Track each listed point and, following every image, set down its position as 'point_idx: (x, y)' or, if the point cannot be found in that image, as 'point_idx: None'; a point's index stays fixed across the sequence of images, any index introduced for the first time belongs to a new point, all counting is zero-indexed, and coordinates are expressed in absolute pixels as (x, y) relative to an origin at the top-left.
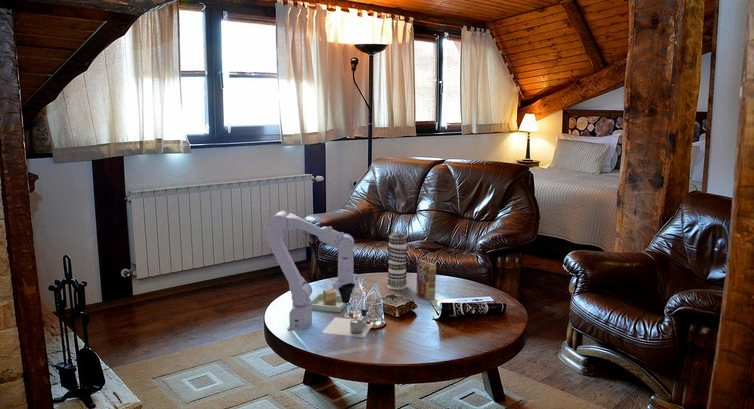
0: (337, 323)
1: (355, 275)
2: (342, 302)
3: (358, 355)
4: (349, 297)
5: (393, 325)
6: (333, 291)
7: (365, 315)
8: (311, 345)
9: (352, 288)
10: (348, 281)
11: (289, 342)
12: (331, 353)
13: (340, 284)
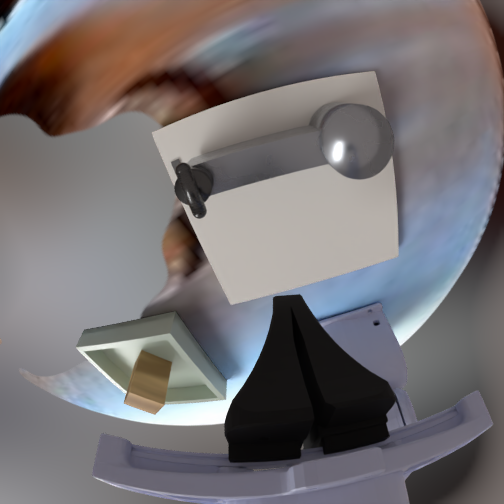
0: (286, 263)
1: (119, 478)
2: (129, 345)
3: (473, 54)
4: (289, 322)
5: (120, 54)
6: (133, 396)
7: (211, 159)
8: (462, 228)
9: (274, 385)
10: (402, 468)
11: (451, 287)
12: (490, 143)
13: (467, 430)
